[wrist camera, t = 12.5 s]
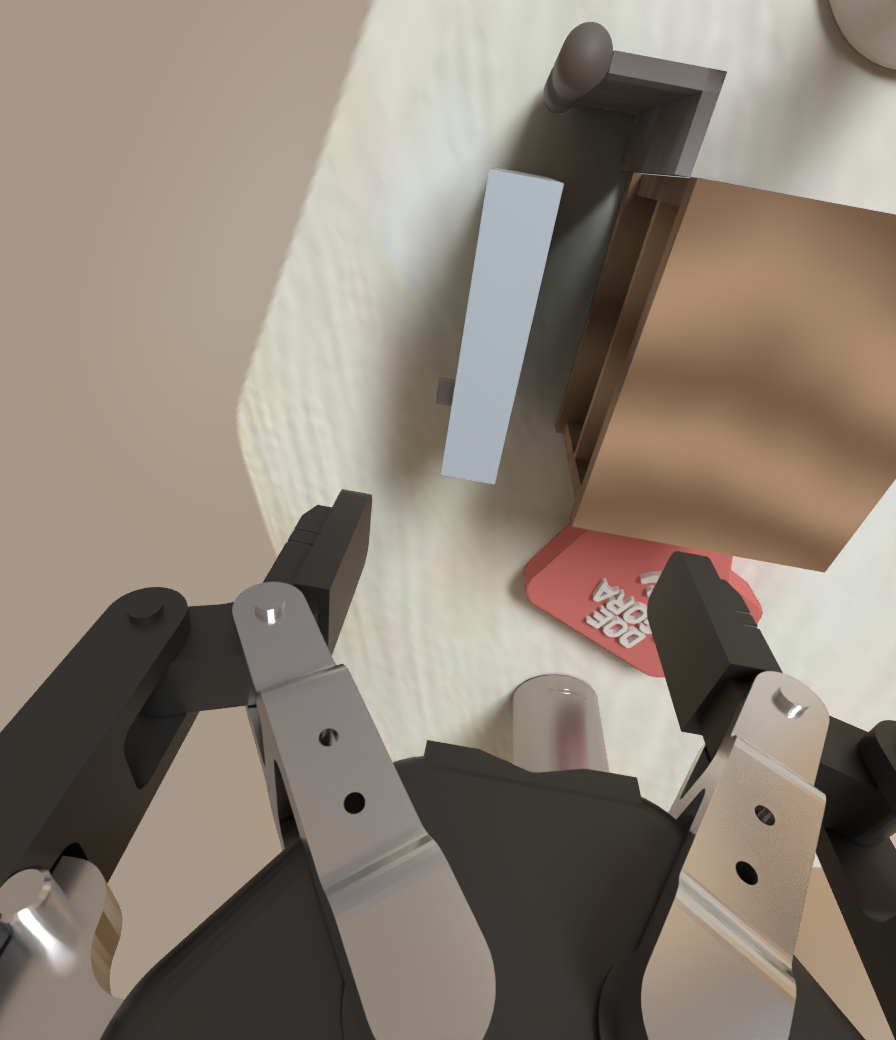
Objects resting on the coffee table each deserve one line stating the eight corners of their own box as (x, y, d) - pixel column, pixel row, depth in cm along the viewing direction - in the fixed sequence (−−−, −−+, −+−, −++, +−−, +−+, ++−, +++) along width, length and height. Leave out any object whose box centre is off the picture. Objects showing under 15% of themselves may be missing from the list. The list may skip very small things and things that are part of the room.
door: (546, 176, 30) (564, 183, 20) (498, 401, 38) (494, 484, 28) (475, 163, 30) (458, 164, 20) (442, 391, 38) (419, 471, 28)
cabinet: (738, 460, 39) (824, 572, 28) (479, 412, 39) (467, 507, 28) (913, 137, 28) (1165, 122, 17) (547, 69, 27) (571, 10, 17)
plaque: (808, 601, 42) (662, 689, 49) (787, 570, 45) (653, 657, 52) (650, 480, 37) (515, 598, 45) (639, 455, 40) (515, 569, 48)
